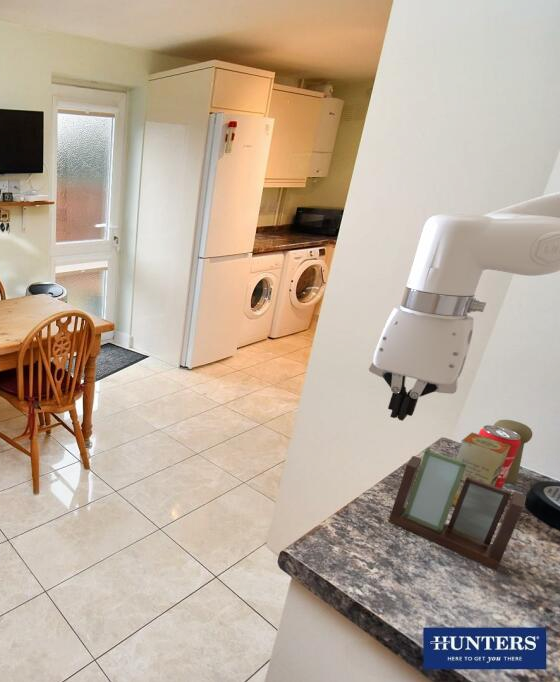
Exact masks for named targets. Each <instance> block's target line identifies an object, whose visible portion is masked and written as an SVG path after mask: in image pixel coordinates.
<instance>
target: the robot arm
mask: <svg viewBox="0 0 560 682" xmlns="http://www.w3.org/2000/svg"><path fill="white" fill-rule="evenodd" d="M485 270H490V271H498V272H502V273H508V274H513V275H520V276H529V277H530V276H532V277H533V276H534V277H536V276H544V275H550V274H553V273H557V272H559V271H560V191H557V192H552V193H549V194H544V195H542V196H538V197H534V198H531V199H528V200H525V201H522V202H519V203H516V204H512V205H509V206H507V207H503V208H500V209H497V210H494V211H491V212H488V213H486V214H484V215H480V214H479V215H477V214H464V213H463V214H461V213H439V214H435V215H434V214H433V215H432V216H430V217H429V218H427V220H426V221H425V223H424V224H423V228H422V231H421V234H420V238H419V242H418V244H417V248H416V251H415V255H414V259H413V262H412V266H411V269H410V271H409V276H408V279H407V283H406V286H405V289H404V293H403V296H402V300H401V303H400V304H397V305H395V306H394V308H393V310H391V313H390V314H389V316H388V318H387V320H386V323H385V326H383V329H382V331H381V332H382V333H381V335H380V337H379V340H378V342H377V345H376V348H375V351H374V354H373V358H372V362H371V364H370V365H369V367H368V371H369V372H370V373H372V374H374V375H375V376H378V377H380V378H382V379H383V380H384V381H385V382H386V384H387V385H388V387H389V389H390V391H391V392H392V393H391V397H390V400H389V403H388V407H387V409H388V410H389V411H391V412H390V416H389V417H390V418H393V419H398V420H399V421H402V422H403V421H404V420H405V419H406V418H407V417H408V416H410V417H412V416H413V415H414V412H415V410H416V406H417V404H418V401H419V398H421V397H423V396H427V395H430V394H431V393H439V394H442V393H443V394H451V395H452V394H453V395H454V394H455V393H456V392H457V391H458V378H459V377H460V376H461V374H462V373H463V369H464V366H465V363H466V360H467V356H468V353H469V349H470V345H471V341H472V338H473V331H474V322H475V321H474V319H475V318H474V317H473V316H470V315H469V314H471V313H475V312H480V313H484V310H485V307H486V305H487V302H486V301H480V300H477V298H476V297H475V296H476V291H477V288H478V285H479V282H480V280H481V276H482V275H483V271H485ZM407 378H411V379H415V380H416V381H415V382H414V385H413V387H412V388H411V389H409V391H407V388H406V380H407Z"/></svg>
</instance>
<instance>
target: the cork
mask: <svg viewBox="0 0 560 682" xmlns="http://www.w3.org/2000/svg"><path fill="white" fill-rule="evenodd" d="M492 426H498V427H502V428H506V429H508V430H511V431H513V432H515V433H517V434H518V435H519V436H520V441H521V443H520V446H519V448H518V451H517V453H516V455H515V458H514V460H513V463H512V465H511V468H510V470H509V472H508V475H507V477H506V480H505V482H504V483H508V484H509V483H510V484H512V483H516V482H518V478H519V473H520V468H521V463H522V458H523V454H524V453H523V452H524V448H525V447H524V446H525V444H526V443H528V442H530V441H531V440H532V438H533V430H532V428H530V427H529V426H528V425H526V424H524V423H522V422H519V421H515V420H511V419H499V420H497V421H496V422H495V423H494V424H493V425H492Z"/></svg>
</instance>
